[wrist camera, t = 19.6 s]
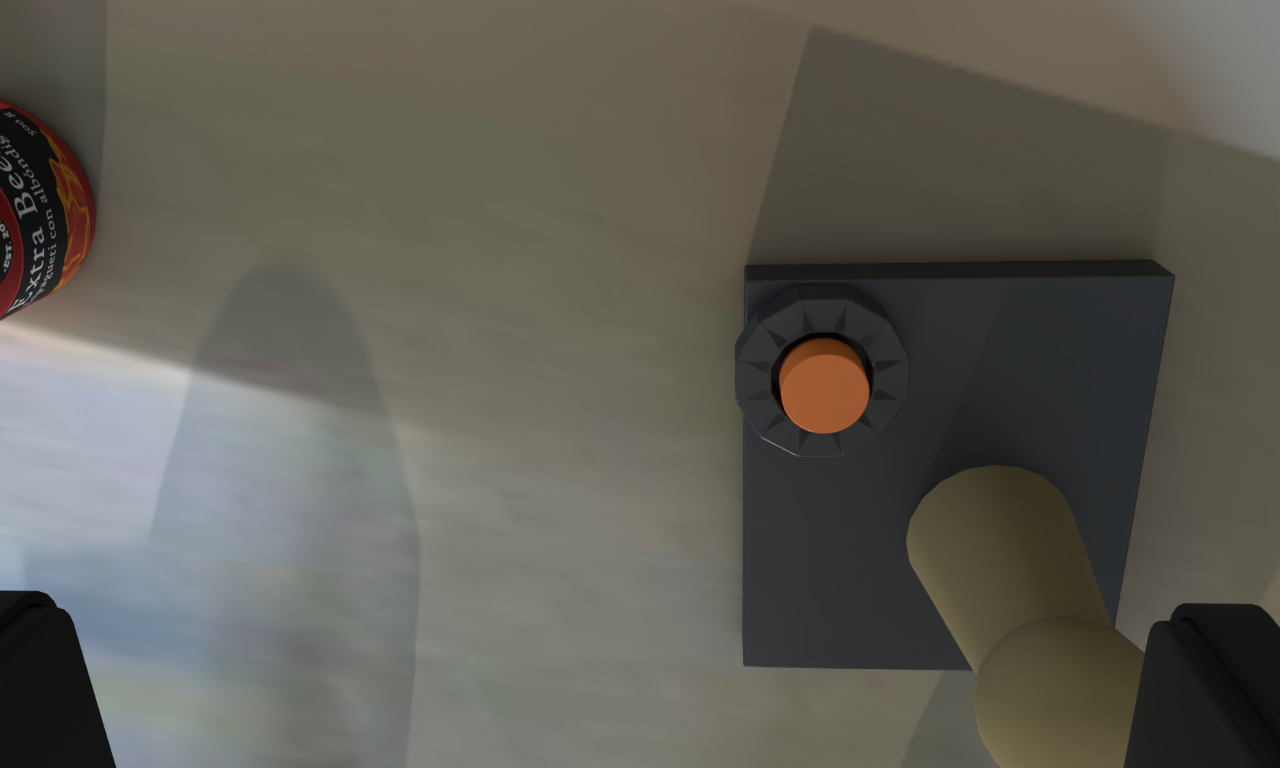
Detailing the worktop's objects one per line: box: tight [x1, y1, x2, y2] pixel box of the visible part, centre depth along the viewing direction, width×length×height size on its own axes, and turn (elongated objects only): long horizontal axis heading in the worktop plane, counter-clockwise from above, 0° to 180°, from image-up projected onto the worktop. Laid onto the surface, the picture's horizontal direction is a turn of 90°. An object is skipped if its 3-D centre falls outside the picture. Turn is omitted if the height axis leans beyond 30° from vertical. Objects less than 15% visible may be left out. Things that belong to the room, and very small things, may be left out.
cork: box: [906, 465, 1145, 768], centre depth 33 cm, size 6×6×11 cm
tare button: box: [779, 338, 870, 433], centre depth 34 cm, size 3×3×2 cm
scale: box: [735, 260, 1175, 671], centre depth 37 cm, size 16×14×4 cm
